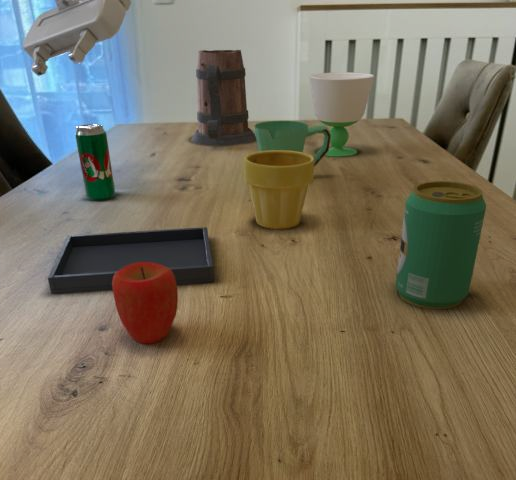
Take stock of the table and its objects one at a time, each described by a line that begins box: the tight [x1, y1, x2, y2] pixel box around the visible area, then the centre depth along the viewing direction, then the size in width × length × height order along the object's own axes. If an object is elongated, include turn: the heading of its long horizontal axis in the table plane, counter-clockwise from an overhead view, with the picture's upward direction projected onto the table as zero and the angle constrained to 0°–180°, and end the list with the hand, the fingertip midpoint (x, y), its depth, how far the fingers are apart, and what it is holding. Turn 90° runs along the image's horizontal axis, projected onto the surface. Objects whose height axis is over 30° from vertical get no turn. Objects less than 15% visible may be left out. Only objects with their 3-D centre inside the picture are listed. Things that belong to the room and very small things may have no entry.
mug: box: [253, 120, 331, 168], centre depth 104 cm, size 15×10×10 cm
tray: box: [47, 226, 215, 295], centre depth 71 cm, size 19×14×2 cm
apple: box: [112, 262, 179, 345], centre depth 54 cm, size 6×6×8 cm
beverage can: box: [395, 180, 487, 310], centre depth 60 cm, size 8×8×12 cm
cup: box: [309, 71, 375, 158], centre depth 121 cm, size 14×14×16 cm
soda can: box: [74, 123, 116, 202], centre depth 95 cm, size 5×5×12 cm
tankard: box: [190, 49, 257, 147], centre depth 133 cm, size 24×17×20 cm
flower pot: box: [243, 150, 315, 230], centre depth 83 cm, size 10×10×10 cm
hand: (55, 66), depth 89 cm, fingers open, 8 cm apart
